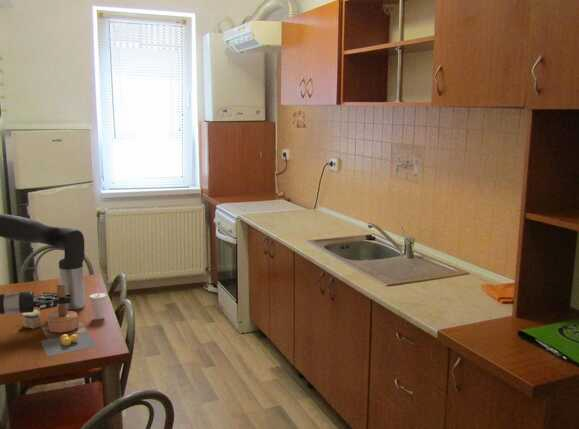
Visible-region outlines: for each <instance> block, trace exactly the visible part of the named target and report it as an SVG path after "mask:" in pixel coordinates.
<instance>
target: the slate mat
mask: <svg viewBox="0 0 579 429" xmlns="http://www.w3.org/2000/svg"><path fill="white" fill-rule="evenodd" d="M76 335H77V336H78V341H77V342H76V343H71V344H70V345H69V346H64V345H63V344H62V342H61V340H60V337H57V338H51V339H43V340H40V342H41V345H42V347H43V349H44V352H45V355H46V357H53V356H57V355H61V354H68V353H72V352H73V353H74V352H77V351H82V350H89V349H93V348H97V347H98V346H97V344H96V342H95V341H94V340H93V338H92V336H91V334H90V333H89V332H84V333H79V334H76ZM68 336H69V338H70V336H71V335H68Z"/></svg>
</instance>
